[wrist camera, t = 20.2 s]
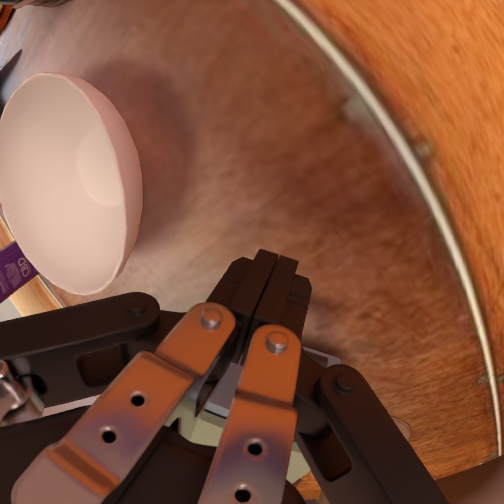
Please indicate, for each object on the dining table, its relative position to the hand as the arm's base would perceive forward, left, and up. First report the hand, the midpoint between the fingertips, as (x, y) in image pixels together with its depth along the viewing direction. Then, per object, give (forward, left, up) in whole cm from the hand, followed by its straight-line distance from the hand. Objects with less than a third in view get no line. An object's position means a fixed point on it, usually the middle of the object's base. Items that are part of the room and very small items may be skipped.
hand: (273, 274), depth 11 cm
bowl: (+1, -16, -9) cm, 18 cm away
